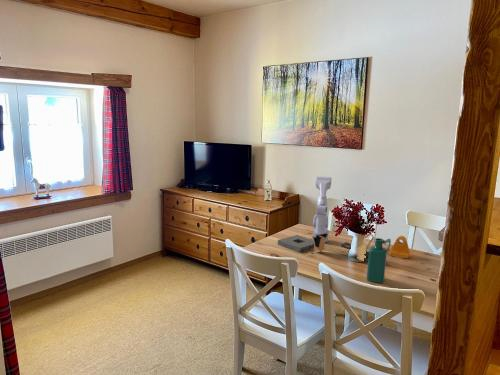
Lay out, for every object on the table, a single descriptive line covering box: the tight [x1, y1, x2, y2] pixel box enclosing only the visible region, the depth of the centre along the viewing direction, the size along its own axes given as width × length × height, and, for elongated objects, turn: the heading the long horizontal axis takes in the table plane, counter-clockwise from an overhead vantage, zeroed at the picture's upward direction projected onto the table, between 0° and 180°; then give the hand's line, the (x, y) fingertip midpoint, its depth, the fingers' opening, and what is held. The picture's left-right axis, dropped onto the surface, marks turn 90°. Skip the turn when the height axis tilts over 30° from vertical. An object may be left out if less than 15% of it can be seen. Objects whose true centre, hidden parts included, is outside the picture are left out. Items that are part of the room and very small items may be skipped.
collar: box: [277, 234, 314, 253], centre depth 245 cm, size 19×19×3 cm
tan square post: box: [313, 236, 326, 252], centre depth 234 cm, size 4×4×8 cm
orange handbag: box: [388, 235, 411, 259], centre depth 231 cm, size 11×7×12 cm, turn 58°
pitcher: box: [366, 237, 392, 284], centre depth 195 cm, size 10×8×22 cm
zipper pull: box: [340, 241, 369, 264], centre depth 226 cm, size 9×7×25 cm
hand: (319, 245), depth 234 cm, fingers closed on tan square post, 5 cm apart
